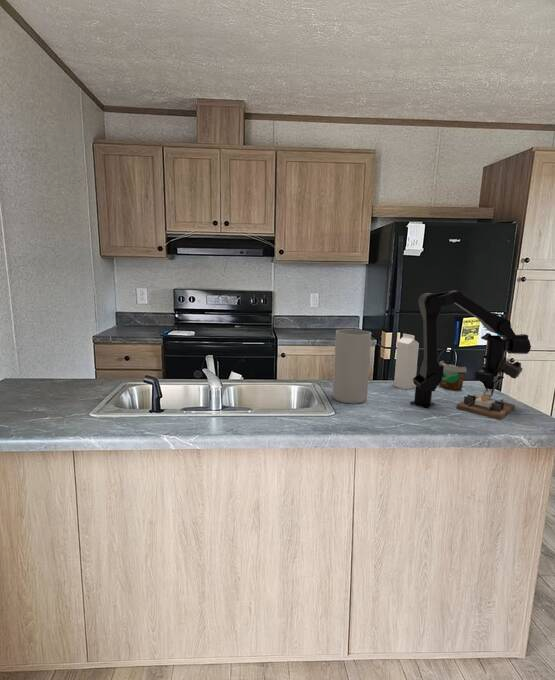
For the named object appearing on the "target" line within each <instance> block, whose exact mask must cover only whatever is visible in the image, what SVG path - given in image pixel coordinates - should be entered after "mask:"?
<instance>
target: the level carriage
mask: <svg viewBox="0 0 555 680" xmlns="http://www.w3.org/2000/svg"><path fill="white" fill-rule="evenodd" d="M491 391H492V389H491V388H485V387H483V393H482V395H481V396H482V397H481V396H479V398H478V399H476V400H475V405H479V406H483V407H487V408H489V407H491V406H492V403H495V400H496V399H492V396H491ZM491 399H492V400H491Z"/></svg>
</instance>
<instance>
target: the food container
mask: <svg viewBox="0 0 555 680" xmlns="http://www.w3.org/2000/svg"><path fill="white" fill-rule="evenodd" d="M439 363H440V364H442V365H443V366H444V370H443V375H444V377H442V381H441V383H440V384H439V388H442V389H445V390H449V391H462V390H463V389H462V388H463V384H464V380H465V379H464V378H465V374H466V373H467V367H466V366H458V365H455V364H448V363H445V361H444V360H441V361H439Z"/></svg>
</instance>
